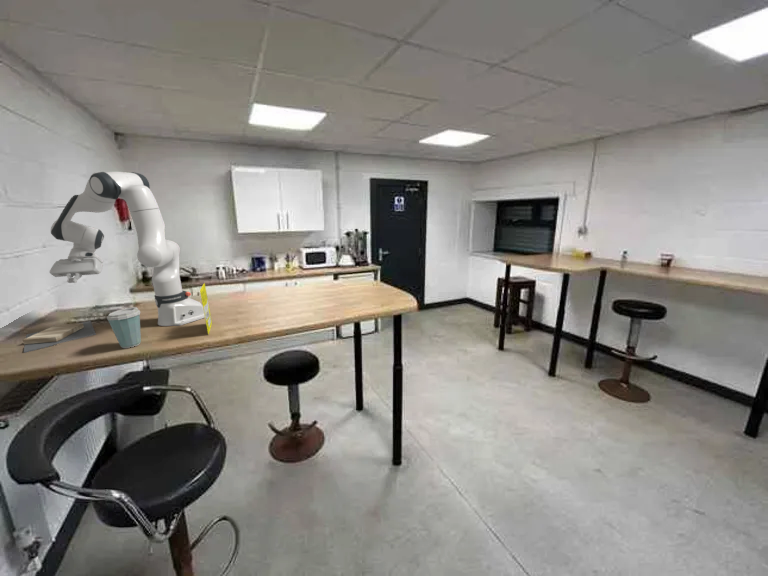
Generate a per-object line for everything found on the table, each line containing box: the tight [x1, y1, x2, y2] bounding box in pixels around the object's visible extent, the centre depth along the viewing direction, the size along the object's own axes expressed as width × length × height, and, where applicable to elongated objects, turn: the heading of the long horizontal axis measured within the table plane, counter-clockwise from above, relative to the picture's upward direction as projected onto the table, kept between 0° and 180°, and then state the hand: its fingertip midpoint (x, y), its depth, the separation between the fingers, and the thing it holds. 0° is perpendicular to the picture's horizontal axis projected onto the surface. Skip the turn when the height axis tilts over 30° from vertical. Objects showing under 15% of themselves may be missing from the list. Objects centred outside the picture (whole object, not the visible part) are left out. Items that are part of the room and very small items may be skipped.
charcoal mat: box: [23, 320, 97, 353], centre depth 145 cm, size 22×26×1 cm
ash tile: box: [22, 322, 84, 345], centre depth 143 cm, size 2×12×16 cm
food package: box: [199, 282, 213, 336], centre depth 144 cm, size 15×1×20 cm, turn 22°
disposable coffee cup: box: [106, 306, 142, 349], centre depth 131 cm, size 11×11×15 cm
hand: (71, 282), depth 154 cm, fingers closed
